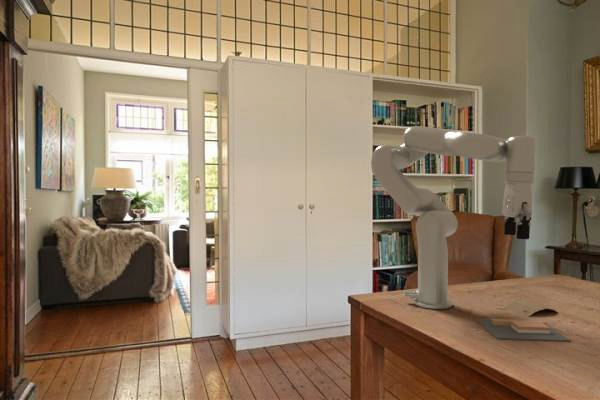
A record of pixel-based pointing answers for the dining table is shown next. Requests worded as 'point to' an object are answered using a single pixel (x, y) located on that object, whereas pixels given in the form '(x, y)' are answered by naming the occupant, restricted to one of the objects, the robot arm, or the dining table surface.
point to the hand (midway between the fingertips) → (516, 236)
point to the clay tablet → (525, 307)
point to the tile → (530, 327)
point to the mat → (505, 331)
